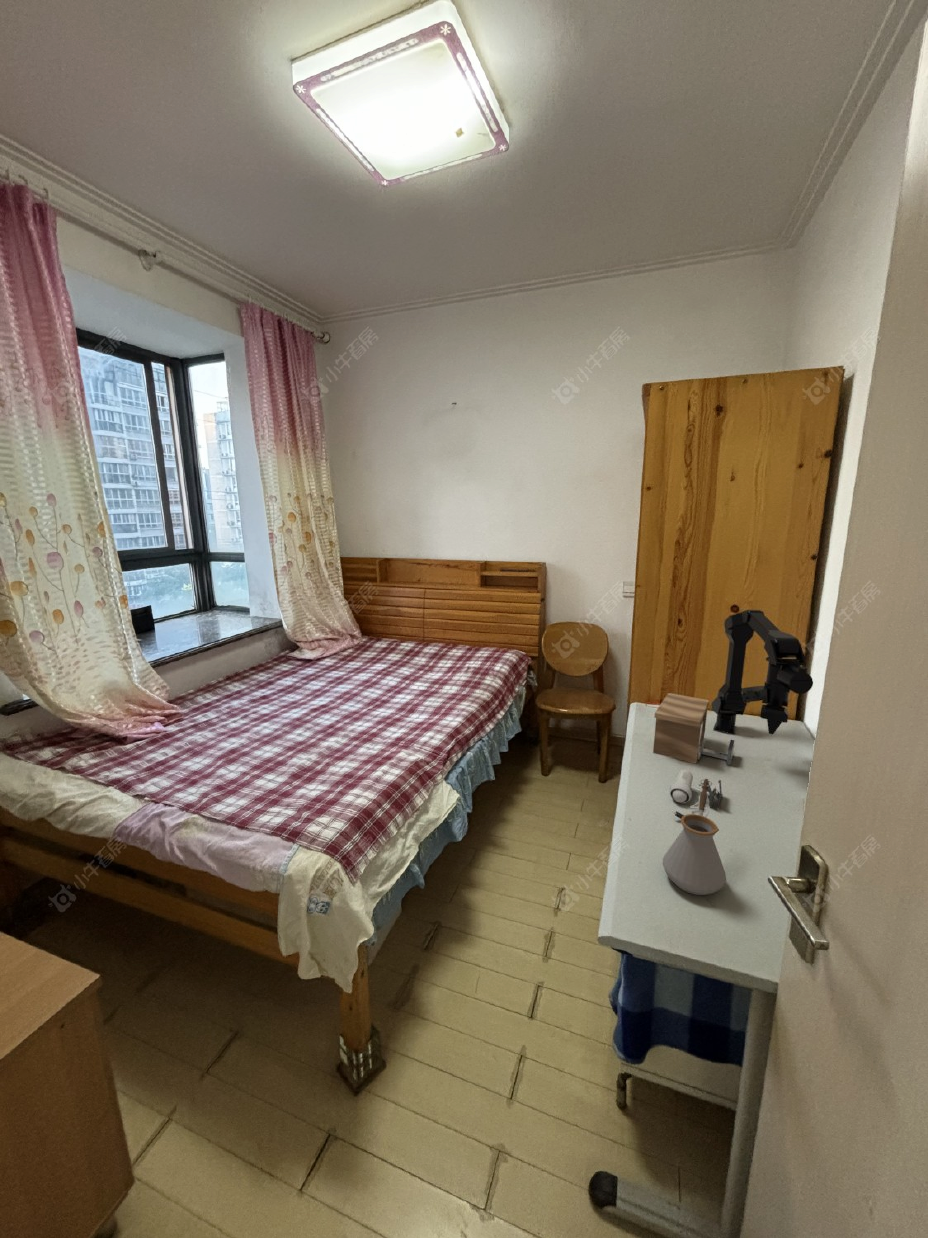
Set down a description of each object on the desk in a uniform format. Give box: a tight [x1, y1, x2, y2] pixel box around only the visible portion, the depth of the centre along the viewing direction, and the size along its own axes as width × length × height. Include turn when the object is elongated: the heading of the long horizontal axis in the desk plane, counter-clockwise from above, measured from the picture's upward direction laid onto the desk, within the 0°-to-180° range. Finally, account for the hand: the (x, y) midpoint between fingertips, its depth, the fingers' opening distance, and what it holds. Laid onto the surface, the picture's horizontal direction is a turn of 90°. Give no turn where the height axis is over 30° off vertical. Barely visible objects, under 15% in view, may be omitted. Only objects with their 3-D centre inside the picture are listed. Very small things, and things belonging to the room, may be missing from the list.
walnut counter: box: [652, 692, 710, 764], centre depth 154 cm, size 20×12×14 cm, turn 147°
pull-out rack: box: [697, 737, 735, 766], centre depth 152 cm, size 11×17×4 cm, turn 57°
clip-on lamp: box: [669, 769, 724, 820], centre depth 124 cm, size 12×6×18 cm
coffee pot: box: [662, 778, 727, 896], centre depth 102 cm, size 21×12×15 cm, turn 150°
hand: (770, 733), depth 141 cm, fingers closed
